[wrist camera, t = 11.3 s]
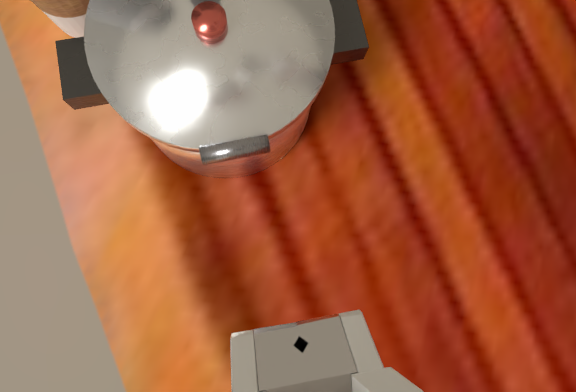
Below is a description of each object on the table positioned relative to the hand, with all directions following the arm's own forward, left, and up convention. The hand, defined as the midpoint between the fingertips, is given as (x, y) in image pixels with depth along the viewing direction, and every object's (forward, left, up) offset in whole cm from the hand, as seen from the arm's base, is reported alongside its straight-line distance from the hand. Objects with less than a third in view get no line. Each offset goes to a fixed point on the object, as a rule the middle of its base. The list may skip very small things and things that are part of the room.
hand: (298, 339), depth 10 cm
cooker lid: (+1, -16, -15) cm, 22 cm away
